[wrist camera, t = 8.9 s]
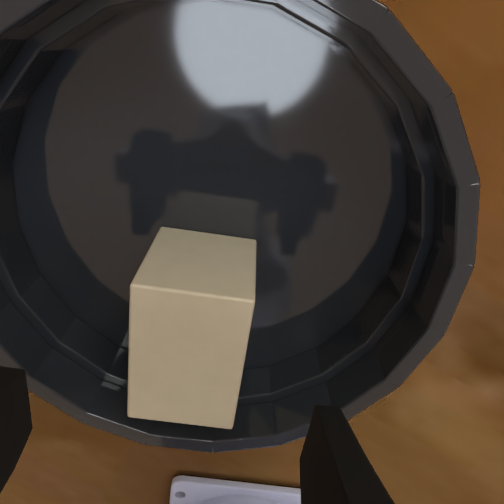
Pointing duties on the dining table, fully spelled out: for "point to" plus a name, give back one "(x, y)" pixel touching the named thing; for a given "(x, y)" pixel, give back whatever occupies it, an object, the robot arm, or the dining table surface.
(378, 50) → the bowl
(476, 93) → the dining table surface
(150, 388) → the block
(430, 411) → the dining table surface
